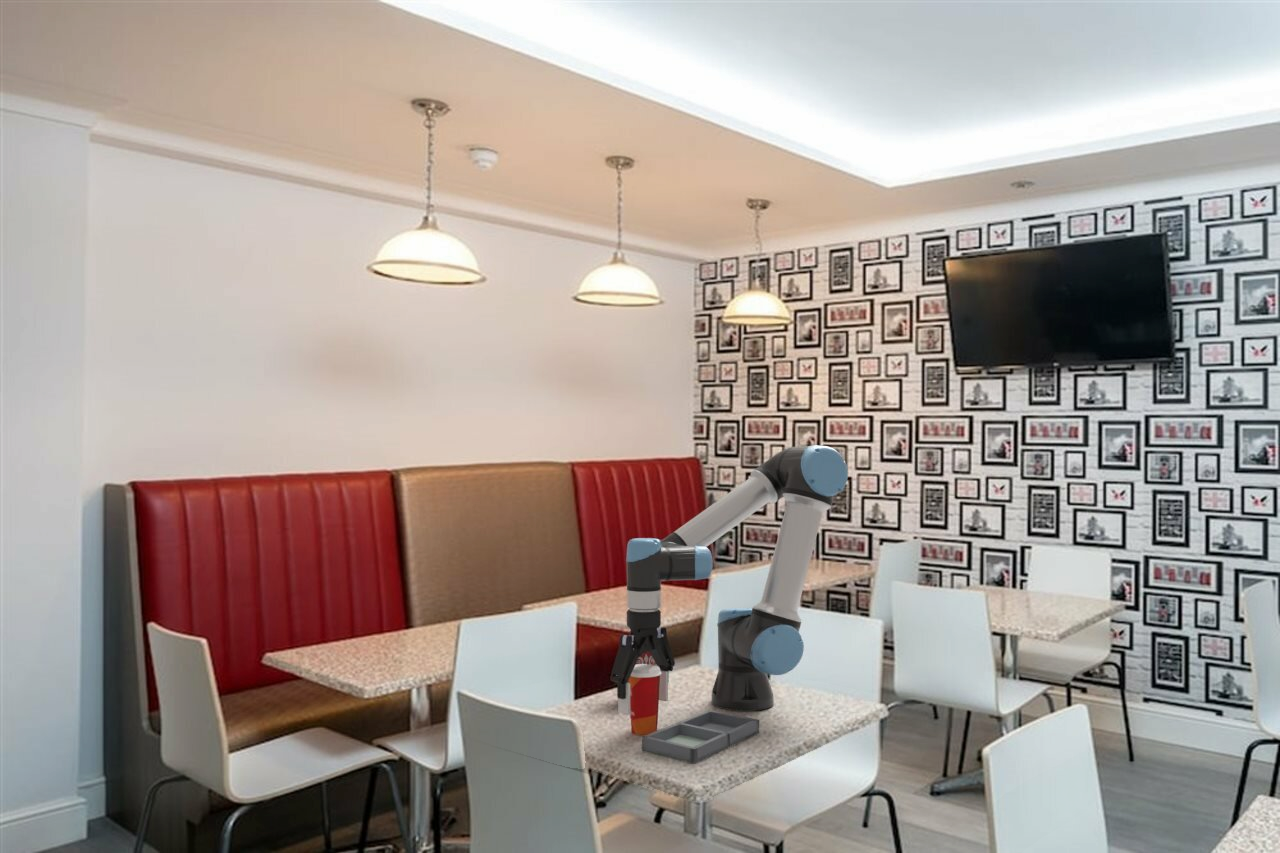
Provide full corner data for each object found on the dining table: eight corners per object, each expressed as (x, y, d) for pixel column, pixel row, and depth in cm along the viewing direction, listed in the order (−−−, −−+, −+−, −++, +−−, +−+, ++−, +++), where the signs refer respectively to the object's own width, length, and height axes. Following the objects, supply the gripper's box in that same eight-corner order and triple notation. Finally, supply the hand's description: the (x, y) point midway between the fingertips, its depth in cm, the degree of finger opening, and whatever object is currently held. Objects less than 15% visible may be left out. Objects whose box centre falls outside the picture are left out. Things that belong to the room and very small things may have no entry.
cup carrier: (709, 722, 200) (709, 709, 201) (759, 732, 192) (759, 719, 193) (641, 750, 181) (641, 736, 181) (694, 763, 173) (694, 749, 173)
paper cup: (638, 724, 199) (638, 661, 200) (668, 729, 195) (667, 665, 196) (619, 733, 192) (619, 668, 193) (650, 739, 188) (650, 672, 189)
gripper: (663, 600, 207) (663, 692, 206) (593, 614, 187) (593, 716, 186) (689, 603, 202) (690, 697, 201) (621, 618, 183) (621, 722, 182)
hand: (643, 706), depth 194 cm, fingers open, 13 cm apart
